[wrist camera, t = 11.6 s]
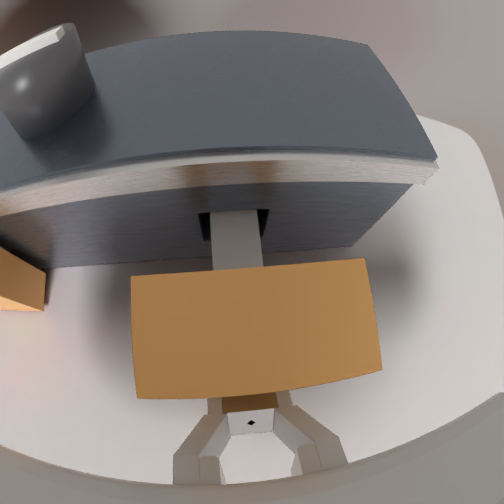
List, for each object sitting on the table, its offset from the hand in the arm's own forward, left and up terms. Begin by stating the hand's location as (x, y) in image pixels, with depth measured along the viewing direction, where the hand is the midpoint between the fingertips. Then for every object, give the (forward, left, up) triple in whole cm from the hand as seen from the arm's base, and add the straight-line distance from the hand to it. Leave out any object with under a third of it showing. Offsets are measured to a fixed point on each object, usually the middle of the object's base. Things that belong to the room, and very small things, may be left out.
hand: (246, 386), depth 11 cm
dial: (-13, 0, +5) cm, 14 cm away
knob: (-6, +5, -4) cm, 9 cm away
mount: (-13, 0, -4) cm, 14 cm away
